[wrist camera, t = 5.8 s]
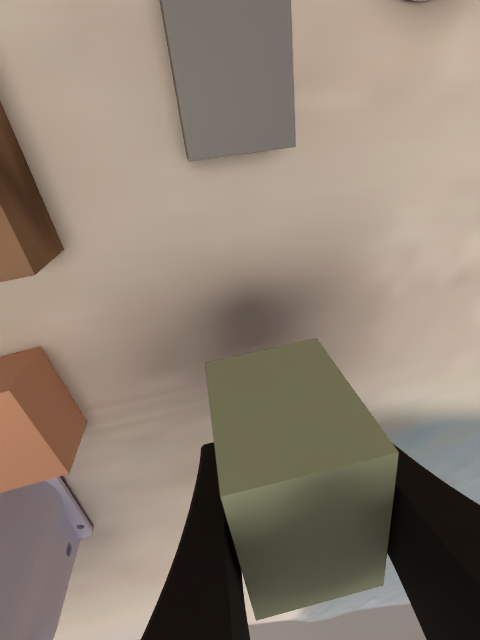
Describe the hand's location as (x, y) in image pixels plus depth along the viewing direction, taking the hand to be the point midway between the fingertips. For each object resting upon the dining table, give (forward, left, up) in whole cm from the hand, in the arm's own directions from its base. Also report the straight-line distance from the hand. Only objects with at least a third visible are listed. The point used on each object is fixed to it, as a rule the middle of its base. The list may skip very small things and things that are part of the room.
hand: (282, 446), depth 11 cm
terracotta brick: (-2, +13, -10) cm, 16 cm away
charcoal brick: (+12, -1, -10) cm, 15 cm away
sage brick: (0, 0, -2) cm, 2 cm away
